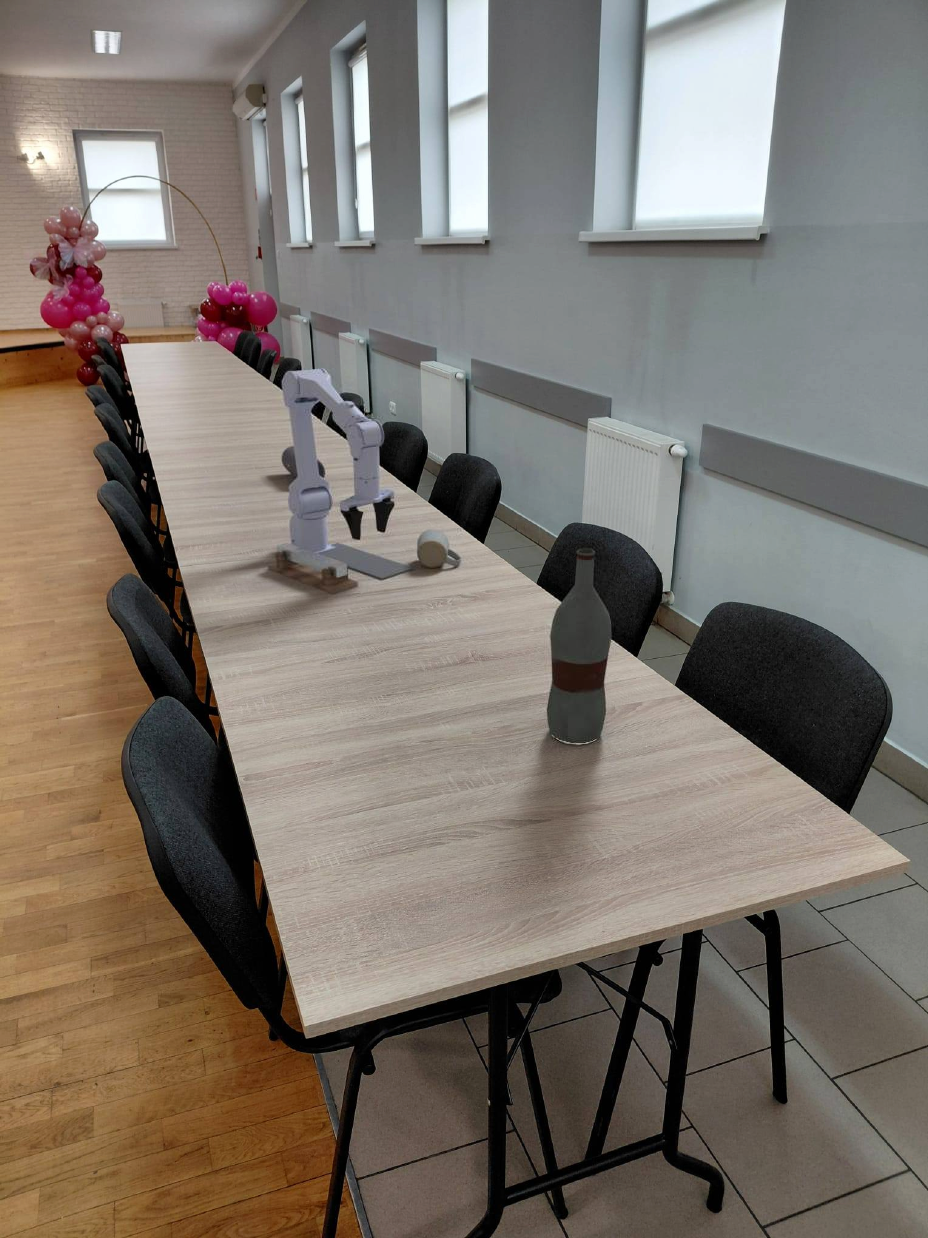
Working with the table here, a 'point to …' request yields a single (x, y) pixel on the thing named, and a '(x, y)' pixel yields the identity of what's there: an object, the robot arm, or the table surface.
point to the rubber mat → (366, 562)
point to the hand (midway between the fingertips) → (368, 535)
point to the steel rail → (312, 559)
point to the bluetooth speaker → (290, 462)
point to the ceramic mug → (435, 549)
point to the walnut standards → (312, 575)
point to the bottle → (579, 659)
